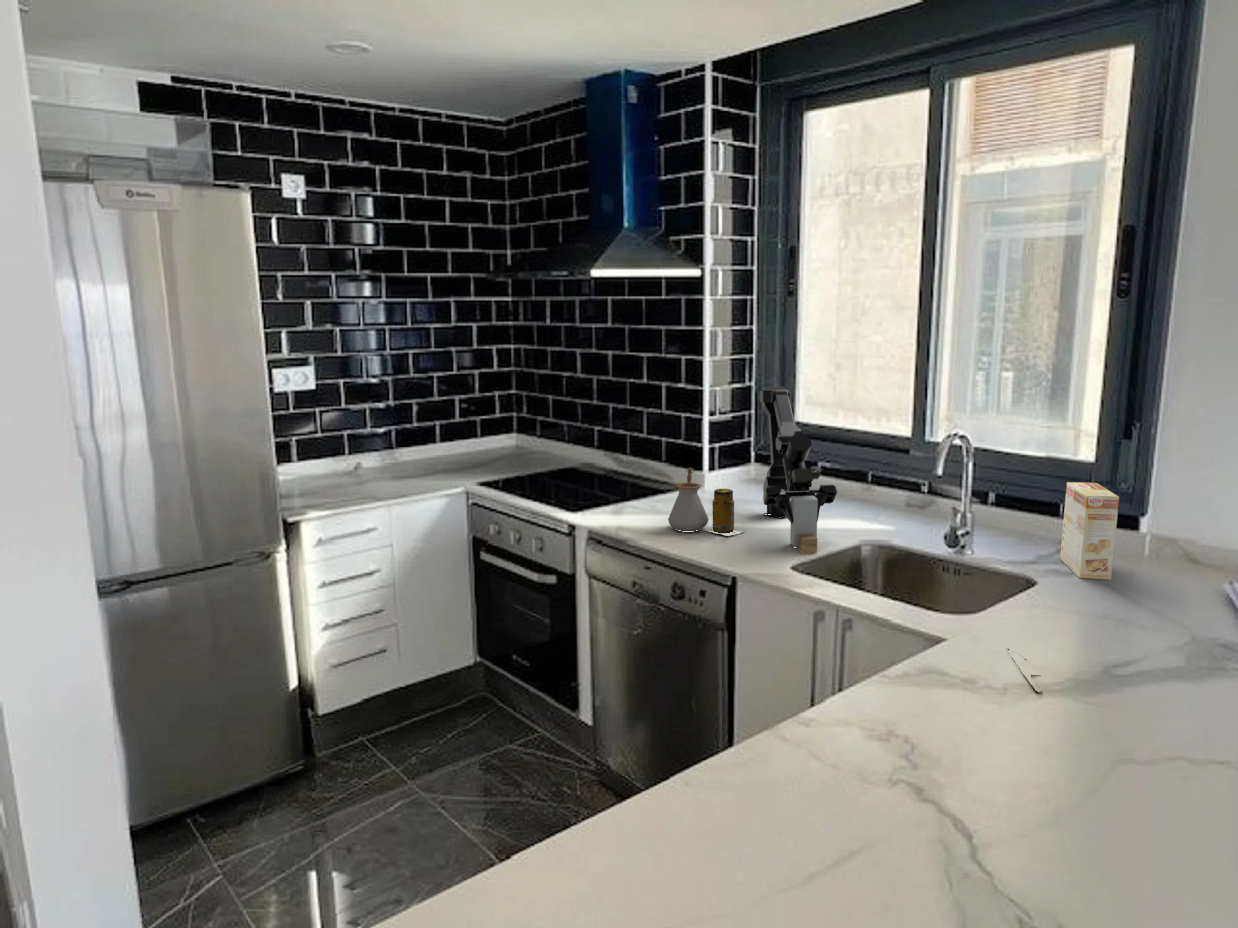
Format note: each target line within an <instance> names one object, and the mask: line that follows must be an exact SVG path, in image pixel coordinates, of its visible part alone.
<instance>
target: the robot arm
mask: <svg viewBox="0 0 1238 928" xmlns="http://www.w3.org/2000/svg"><path fill="white" fill-rule="evenodd" d="M762 389H763V390H760V391H759V403H761V409H762V411H763V413H765V415H766V416H767V418H768V433H769V447H770V459H771V460H770V462H771V464H770V466H769V468H768V470H767V471H766V476H765V478H764V482H763V485H762V489H763V491H762V492H763V497H762V500H763V505H765V506H766V512H764V513H763V515H764V514H767V515H768V514H771V516H770V517H772V516H777V517H785V516H786V517H785V518H787V520H788V521H789V522H790V524H791V523H793V515H792V511H791V496H815V497H816V498H817V499H818V507H817V523H818V521H819V514H820V510H821V507H823V506H824V504H832V503H834V501H835V499H836V496H837V493H838V490H837V487H836V486H835V485H834V484H832V483H831V484H830V483H829V484H820V485H819V488H818V489H811V488H812V486H813V484H812V483H813V481H814V480H819V478H820V475H821V474H820V468H819V466H816V465H815V466H811V467H810V468H807V467H806V462H805V461H806V460H808V459H807V458H808V456H809V453H810V450H811V447H812V440H811V439H810V437H809V436H807V435H806V434H803V431H802V429H801V428H800V427H799V426H797V425H796V422H795V419H794V416H793V410H792V406H791V402H792V401H791V400H792V399H791V398H792V397H791V389H787V388H785V386H765V387H763V388H762ZM777 517H776V518H777Z"/></svg>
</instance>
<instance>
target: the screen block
mask: <svg viewBox="0 0 1238 928" xmlns="http://www.w3.org/2000/svg"><path fill="white" fill-rule="evenodd" d="M790 500H791V511H792V515H793V523H791V522H790V533H789V534H790V539H789V540H790V542H789V544H790V543H791V544H792V545H793V547H798V534H814V535H815V536H816V537H817V536H818V522H817V507H818V499H817V498H816V497H815V496H791V498H790ZM817 538H818V537H817ZM791 544H790V545H791ZM792 545H791V546H792ZM793 547H792V548H793Z"/></svg>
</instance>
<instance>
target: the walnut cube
mask: <svg viewBox="0 0 1238 928" xmlns="http://www.w3.org/2000/svg"><path fill="white" fill-rule="evenodd" d="M798 548H799V550H800V551H801V552H800V551H799V550H798V551H799V552H800V554H818V537H816V536H815V535H814V534H798ZM798 548H797V549H798Z"/></svg>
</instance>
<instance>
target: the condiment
mask: <svg viewBox="0 0 1238 928" xmlns="http://www.w3.org/2000/svg"><path fill="white" fill-rule="evenodd" d="M711 523H712V526H711V527H712V530H713V531H714V532H718V533H730V532H733V530H735V500H734V491H733V490H732V489H729V488H717V489H715V490H714V491H713V500H712V522H711Z"/></svg>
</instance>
